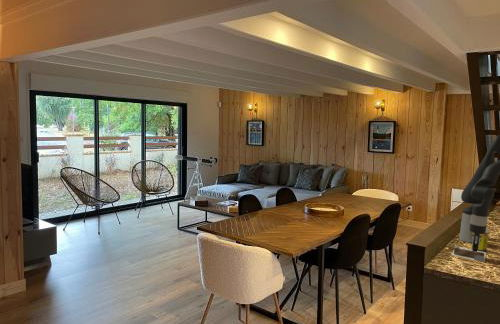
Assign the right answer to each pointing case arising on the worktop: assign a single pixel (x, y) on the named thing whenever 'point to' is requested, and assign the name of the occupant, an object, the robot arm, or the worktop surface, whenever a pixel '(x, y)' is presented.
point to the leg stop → (479, 258)
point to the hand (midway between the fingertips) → (474, 254)
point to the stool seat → (466, 256)
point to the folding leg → (466, 252)
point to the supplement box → (483, 242)
